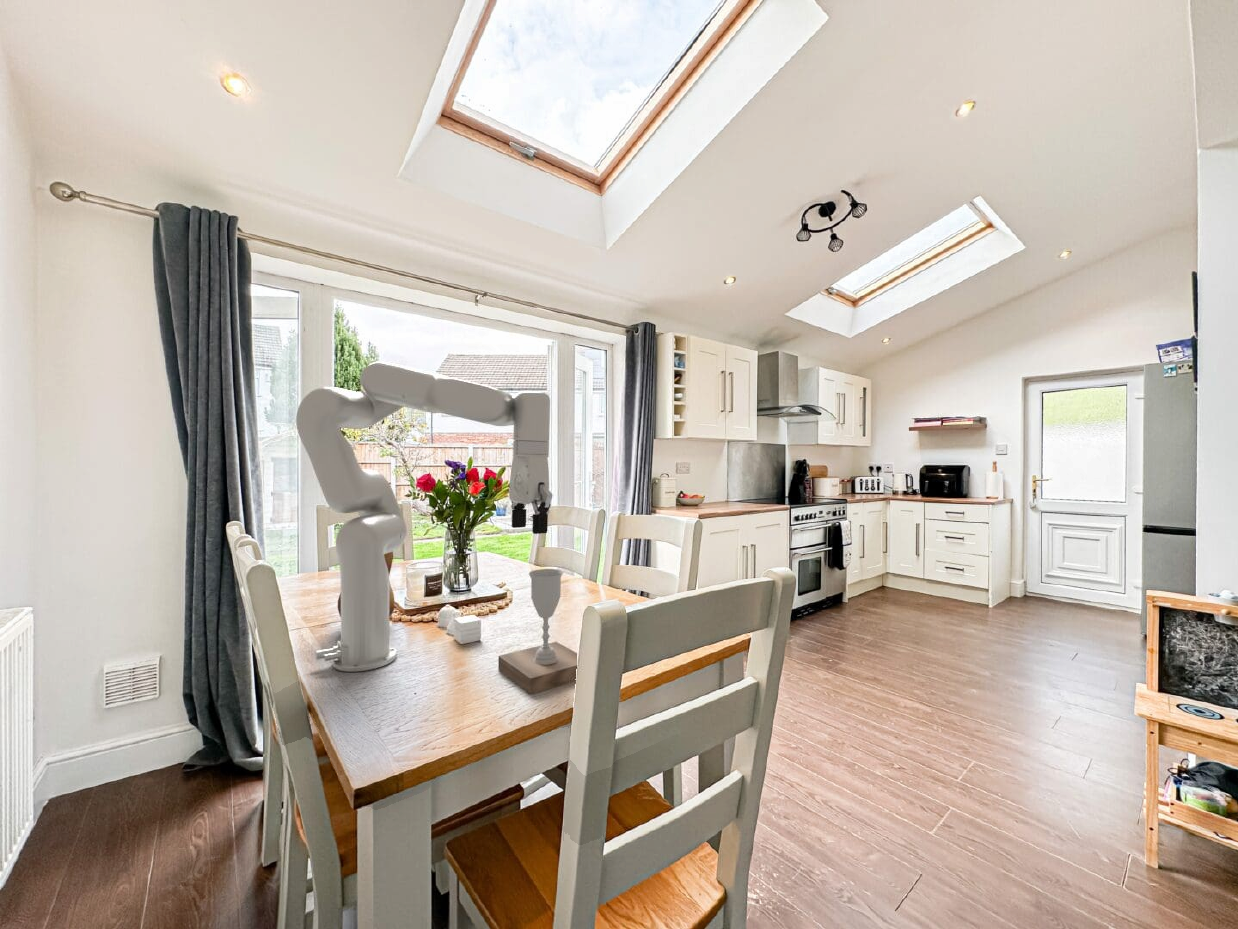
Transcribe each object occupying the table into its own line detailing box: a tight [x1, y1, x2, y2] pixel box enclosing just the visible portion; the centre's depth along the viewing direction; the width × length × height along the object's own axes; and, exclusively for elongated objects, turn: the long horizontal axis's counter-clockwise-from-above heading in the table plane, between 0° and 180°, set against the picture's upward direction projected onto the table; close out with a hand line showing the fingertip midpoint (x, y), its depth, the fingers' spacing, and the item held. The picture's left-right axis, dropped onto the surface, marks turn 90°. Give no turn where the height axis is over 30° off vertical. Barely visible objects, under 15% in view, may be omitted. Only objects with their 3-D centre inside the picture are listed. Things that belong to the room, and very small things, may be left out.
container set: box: [437, 604, 482, 645], centre depth 133 cm, size 20×5×6 cm, turn 36°
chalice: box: [528, 568, 564, 665], centre depth 107 cm, size 7×7×18 cm
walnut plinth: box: [497, 641, 577, 695], centre depth 108 cm, size 14×14×3 cm
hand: (529, 530), depth 111 cm, fingers open, 9 cm apart
